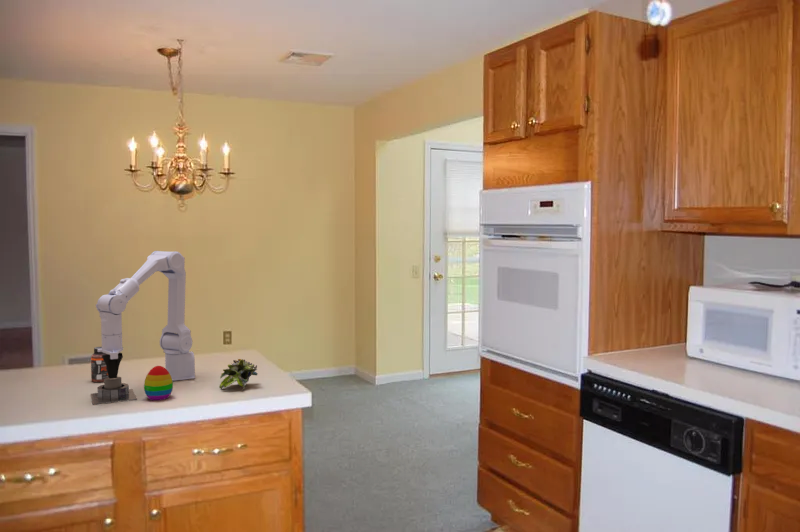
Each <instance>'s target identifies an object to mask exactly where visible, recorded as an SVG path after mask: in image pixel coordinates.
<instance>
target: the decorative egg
mask: <svg viewBox="0 0 800 532" xmlns="http://www.w3.org/2000/svg"><path fill="white" fill-rule="evenodd" d="M144 379H145V380H144V382H143V383H144V385H143V388H144V393H145V396H146V397H147V398H148V400H150V401H164V400H166V399H168V398H169V397H170V396H171V394H172V392H173V388H174V387H173V386H174V381H172V378H171V375H170V373H169V372H168V371H167V369H165V366H161V365H156V366H154V367H152V368H151V369H150V370H149V371H148V372H147V375H146V376H145V378H144Z"/></svg>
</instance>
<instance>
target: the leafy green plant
mask: <svg viewBox="0 0 800 532" xmlns="http://www.w3.org/2000/svg"><path fill="white" fill-rule="evenodd" d="M230 363H231V364H230ZM230 363H228V364H227V368H223V369H222V371H223V372H221V375H220V376H219V379H222V378H223V377H225V378H224V379H222V381H221V382H220V384H219V386H218V387H219V389H220V390H221V389H222V390H223V388H227V387H229V386H230V385H232V384H234V383H235V382H237V384H238V385H239V386H240V387H243V388H242V391H244V390H245V387H246V385H247V383H248V382H249V379H250V377H251V376H258V375H259V374H258V373H257V370H258V369H257V368H258V365H255V364H253V363H252V362H250V361H248V360H247V361H246V359H242V358H237V360H236V359H235V360H234V359H233V363H232V362H230Z"/></svg>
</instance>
